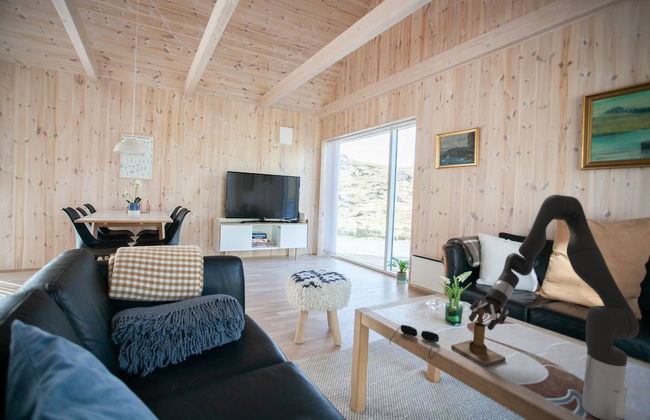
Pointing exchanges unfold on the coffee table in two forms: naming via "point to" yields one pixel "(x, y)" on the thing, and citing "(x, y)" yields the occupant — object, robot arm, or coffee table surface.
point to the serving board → (483, 360)
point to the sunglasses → (413, 332)
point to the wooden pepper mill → (479, 335)
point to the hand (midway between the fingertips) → (479, 324)
